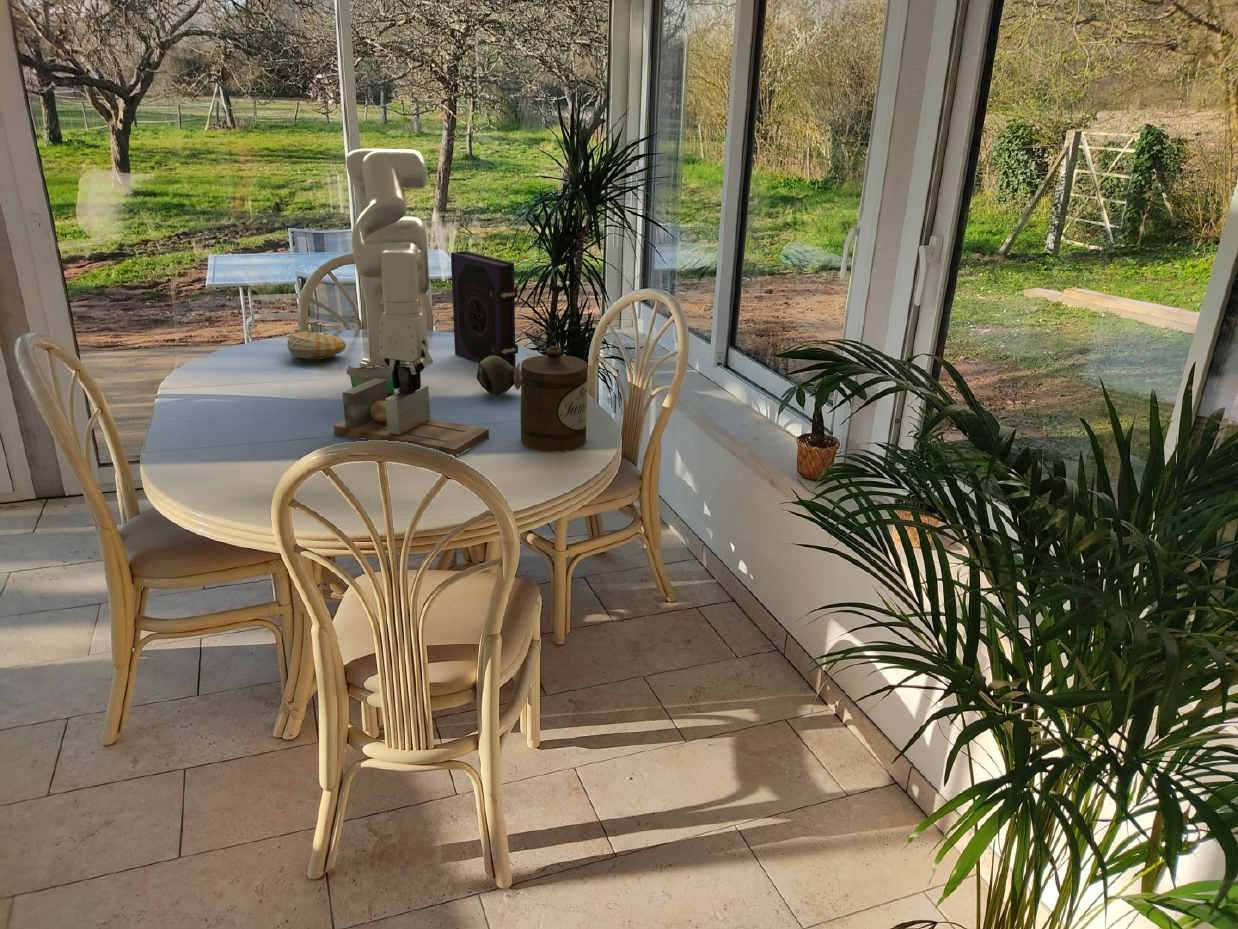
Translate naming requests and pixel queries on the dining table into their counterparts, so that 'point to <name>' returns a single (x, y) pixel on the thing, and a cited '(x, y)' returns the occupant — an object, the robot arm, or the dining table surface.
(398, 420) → the sliding jaw
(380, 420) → the walnut
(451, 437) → the base
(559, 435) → the wooden container
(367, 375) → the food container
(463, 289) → the book
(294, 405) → the dining table surface
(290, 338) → the nautilus
